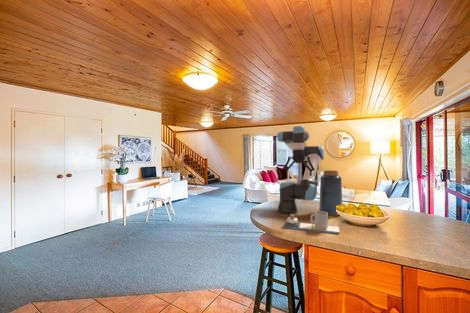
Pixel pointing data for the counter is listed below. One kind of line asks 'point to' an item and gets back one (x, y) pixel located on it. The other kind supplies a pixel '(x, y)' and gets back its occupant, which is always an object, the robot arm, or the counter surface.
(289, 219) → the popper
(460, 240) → the counter surface
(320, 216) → the cup
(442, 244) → the counter surface
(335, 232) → the game board
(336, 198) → the vase
